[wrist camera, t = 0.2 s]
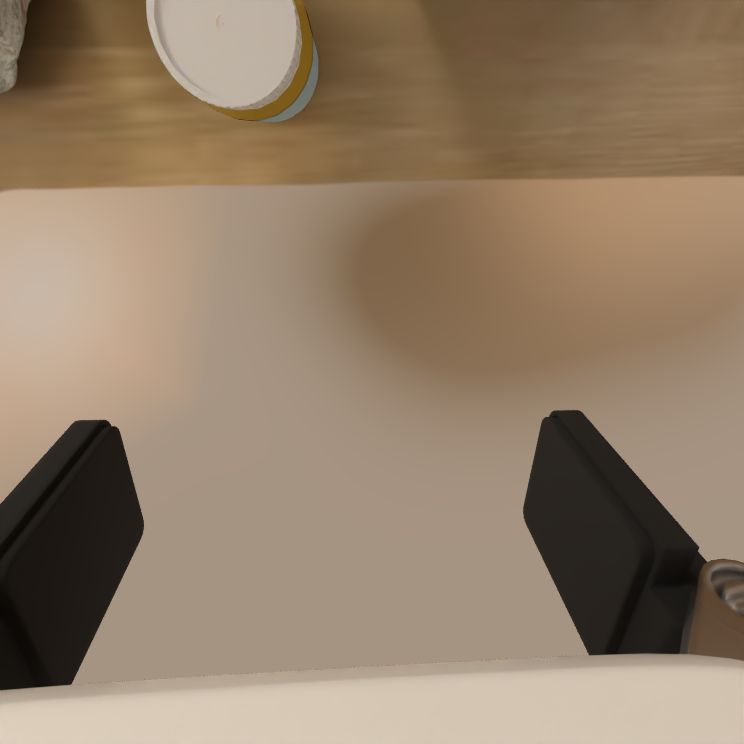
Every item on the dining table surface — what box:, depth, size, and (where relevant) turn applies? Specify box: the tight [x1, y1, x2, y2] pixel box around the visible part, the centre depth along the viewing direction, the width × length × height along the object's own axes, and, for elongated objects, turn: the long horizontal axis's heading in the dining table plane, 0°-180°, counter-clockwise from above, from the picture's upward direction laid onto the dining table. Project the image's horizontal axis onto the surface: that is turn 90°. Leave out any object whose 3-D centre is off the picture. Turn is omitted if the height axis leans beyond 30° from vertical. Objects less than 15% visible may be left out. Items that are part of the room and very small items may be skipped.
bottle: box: [146, 0, 319, 122], centre depth 26 cm, size 7×7×15 cm
